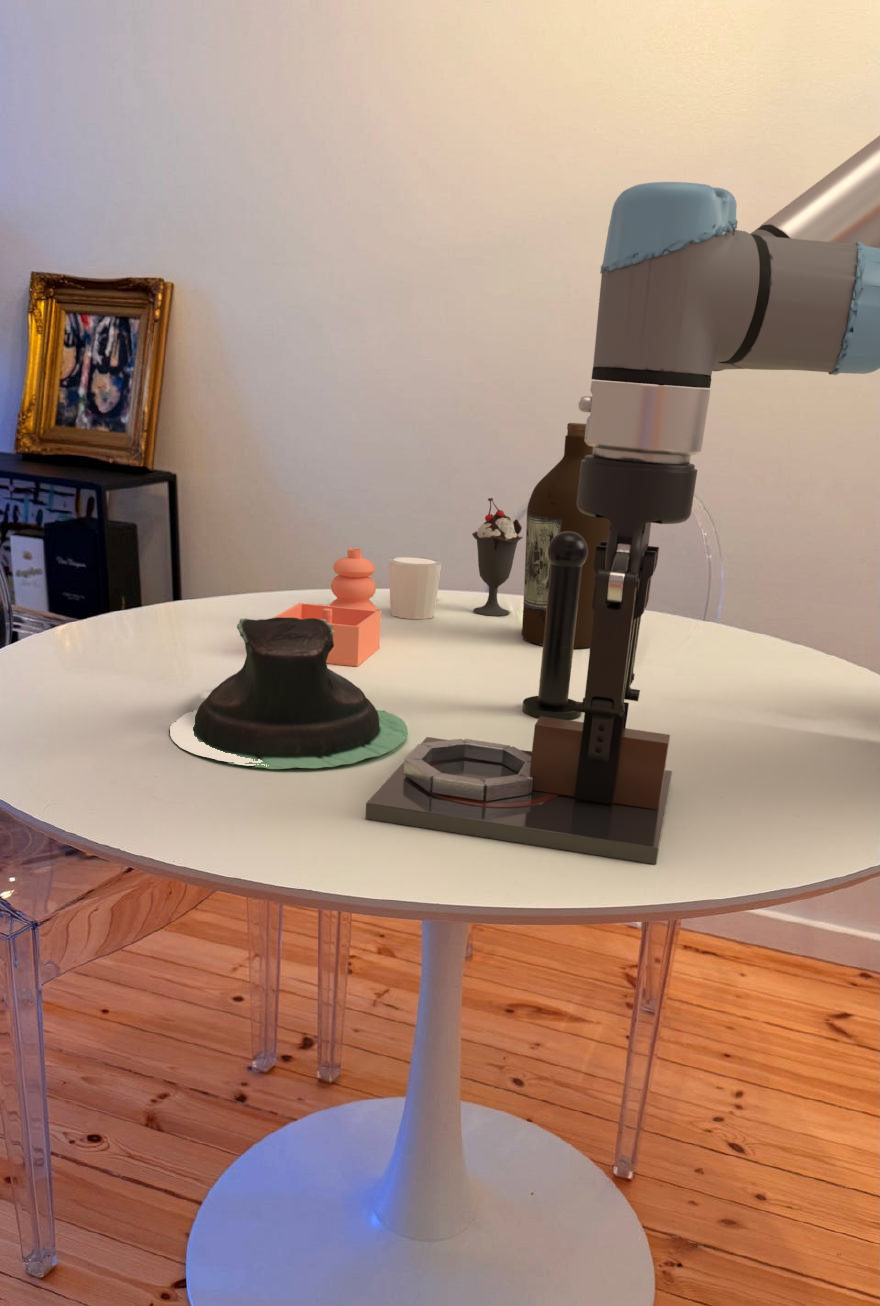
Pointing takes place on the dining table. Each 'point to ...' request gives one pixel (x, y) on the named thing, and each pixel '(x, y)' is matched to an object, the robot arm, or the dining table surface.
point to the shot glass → (413, 586)
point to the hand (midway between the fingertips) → (596, 792)
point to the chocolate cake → (293, 703)
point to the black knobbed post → (559, 629)
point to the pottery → (348, 611)
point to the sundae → (496, 556)
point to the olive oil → (546, 519)
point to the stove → (523, 814)
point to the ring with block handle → (544, 765)
